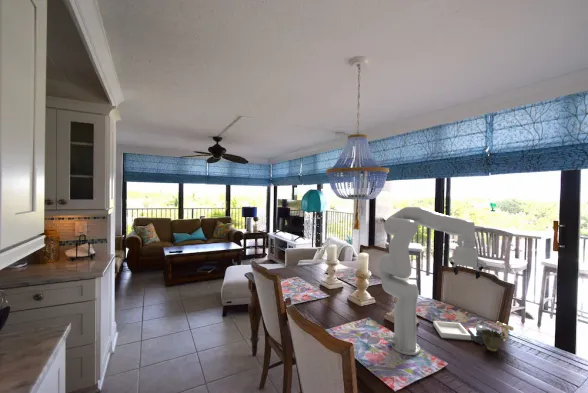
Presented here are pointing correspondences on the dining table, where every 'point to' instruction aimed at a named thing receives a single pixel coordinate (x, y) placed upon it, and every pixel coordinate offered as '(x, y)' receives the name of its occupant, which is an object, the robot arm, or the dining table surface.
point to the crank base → (475, 335)
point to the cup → (491, 339)
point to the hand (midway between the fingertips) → (466, 276)
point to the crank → (503, 330)
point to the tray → (451, 330)
